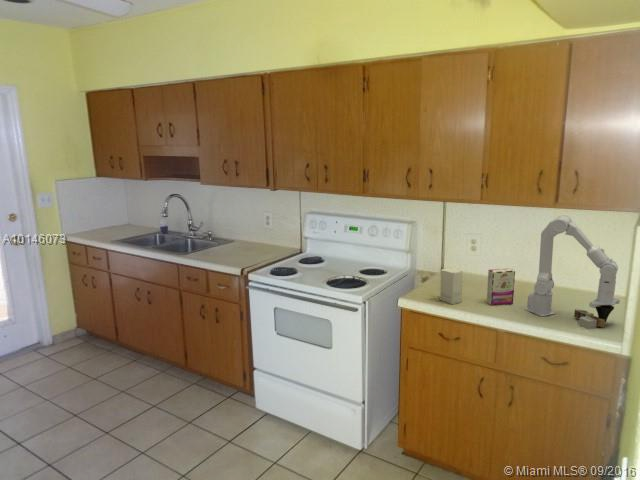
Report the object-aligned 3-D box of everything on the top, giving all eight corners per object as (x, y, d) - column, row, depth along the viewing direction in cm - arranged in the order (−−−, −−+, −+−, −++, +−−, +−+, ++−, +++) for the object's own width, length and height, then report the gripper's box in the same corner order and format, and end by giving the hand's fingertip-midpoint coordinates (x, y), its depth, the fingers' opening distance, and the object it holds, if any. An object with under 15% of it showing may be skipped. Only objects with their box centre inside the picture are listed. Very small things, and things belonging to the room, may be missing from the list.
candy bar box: (507, 300, 222) (510, 267, 218) (513, 304, 217) (516, 270, 214) (485, 302, 220) (488, 269, 217) (491, 305, 215) (493, 272, 212)
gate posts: (575, 319, 198) (576, 312, 197) (585, 317, 200) (585, 310, 199) (585, 323, 194) (585, 316, 193) (594, 321, 196) (595, 314, 196)
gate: (572, 317, 199) (573, 309, 199) (577, 316, 201) (578, 308, 200) (600, 327, 188) (601, 319, 187) (605, 326, 189) (606, 318, 189)
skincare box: (461, 302, 220) (463, 271, 217) (451, 305, 217) (453, 273, 214) (448, 297, 227) (450, 266, 224) (439, 299, 224) (440, 268, 221)
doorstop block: (578, 325, 192) (579, 317, 192) (586, 323, 194) (587, 316, 193) (588, 329, 188) (589, 321, 188) (596, 327, 190) (597, 319, 189)
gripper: (601, 295, 183) (597, 327, 186) (628, 291, 188) (624, 322, 191) (586, 290, 190) (582, 321, 193) (612, 286, 194) (608, 316, 197)
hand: (602, 321), depth 192 cm, fingers closed
